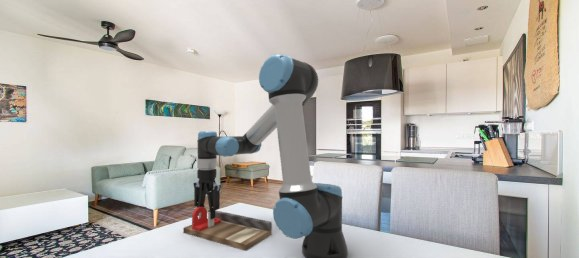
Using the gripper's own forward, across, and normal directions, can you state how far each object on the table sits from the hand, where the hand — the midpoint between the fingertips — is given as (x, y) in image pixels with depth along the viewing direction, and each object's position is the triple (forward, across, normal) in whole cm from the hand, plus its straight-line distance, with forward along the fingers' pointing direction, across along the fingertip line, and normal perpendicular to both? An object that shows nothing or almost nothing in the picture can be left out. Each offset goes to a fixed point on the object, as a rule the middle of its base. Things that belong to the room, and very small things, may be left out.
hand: (206, 225), depth 107 cm
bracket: (0, 0, -1) cm, 1 cm away
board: (+2, -10, -2) cm, 10 cm away
